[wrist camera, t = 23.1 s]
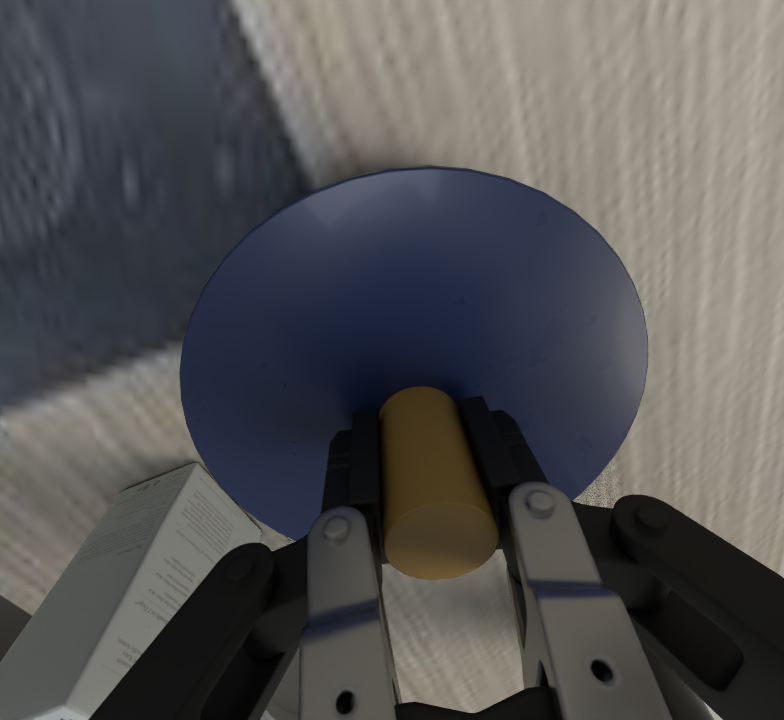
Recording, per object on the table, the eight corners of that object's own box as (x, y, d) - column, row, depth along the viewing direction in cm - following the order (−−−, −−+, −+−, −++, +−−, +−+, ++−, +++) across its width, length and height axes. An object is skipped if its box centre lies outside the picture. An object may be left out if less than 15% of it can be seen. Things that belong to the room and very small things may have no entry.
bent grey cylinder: (125, 656, 34) (261, 734, 43) (65, 831, 25) (255, 884, 34) (299, 551, 35) (398, 649, 44) (304, 683, 25) (429, 774, 34)
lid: (711, 359, 13) (914, 485, 8) (434, 576, 18) (459, 734, 13) (371, 14, 9) (373, -173, 4) (123, 436, 14) (-19, 603, 9)
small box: (119, 489, 27) (-67, 746, 15) (198, 458, 26) (61, 707, 14) (194, 556, 30) (88, 802, 19) (264, 531, 29) (199, 775, 18)
